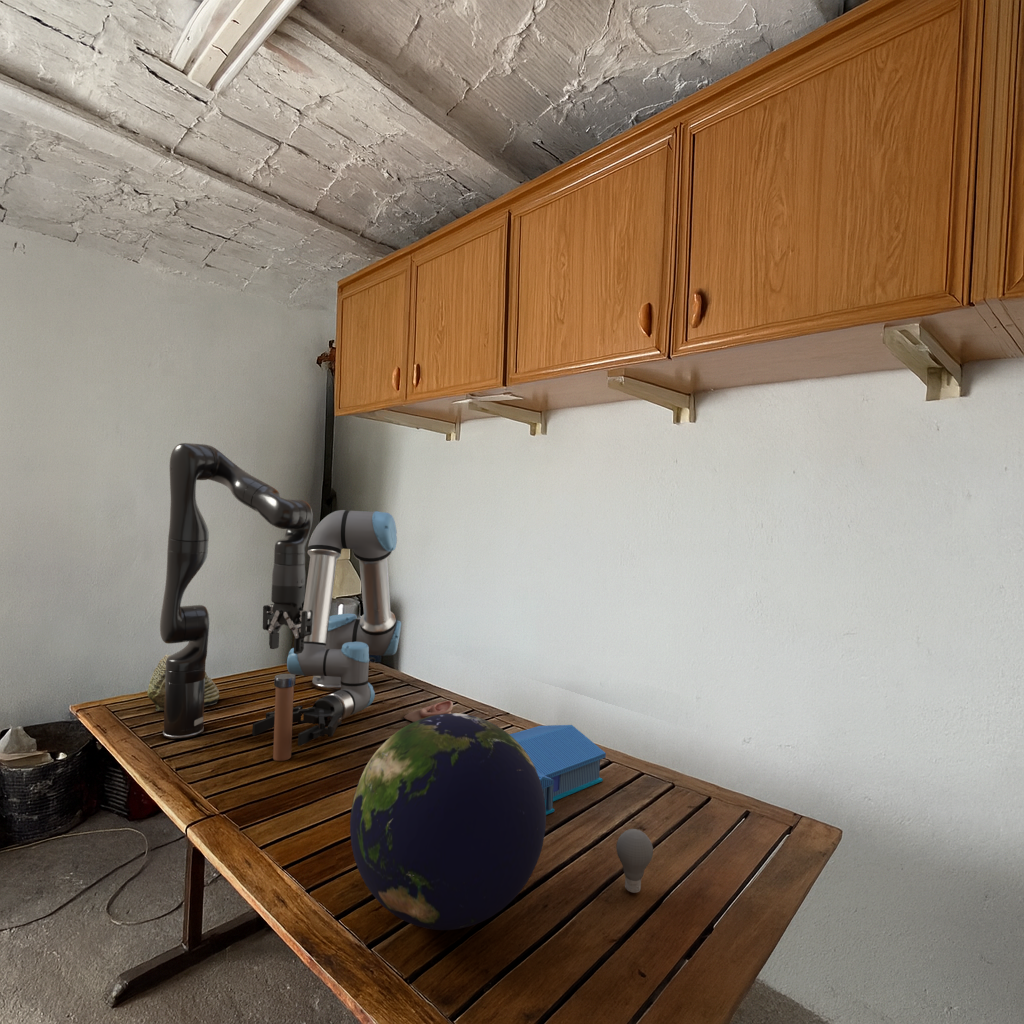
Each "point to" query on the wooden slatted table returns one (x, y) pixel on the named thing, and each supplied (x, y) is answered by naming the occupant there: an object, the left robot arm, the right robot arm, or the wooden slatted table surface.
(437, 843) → the globe
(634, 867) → the light bulb
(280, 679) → the lid
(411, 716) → the anatomical model
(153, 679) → the fossil
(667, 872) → the wooden slatted table surface
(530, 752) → the model building
